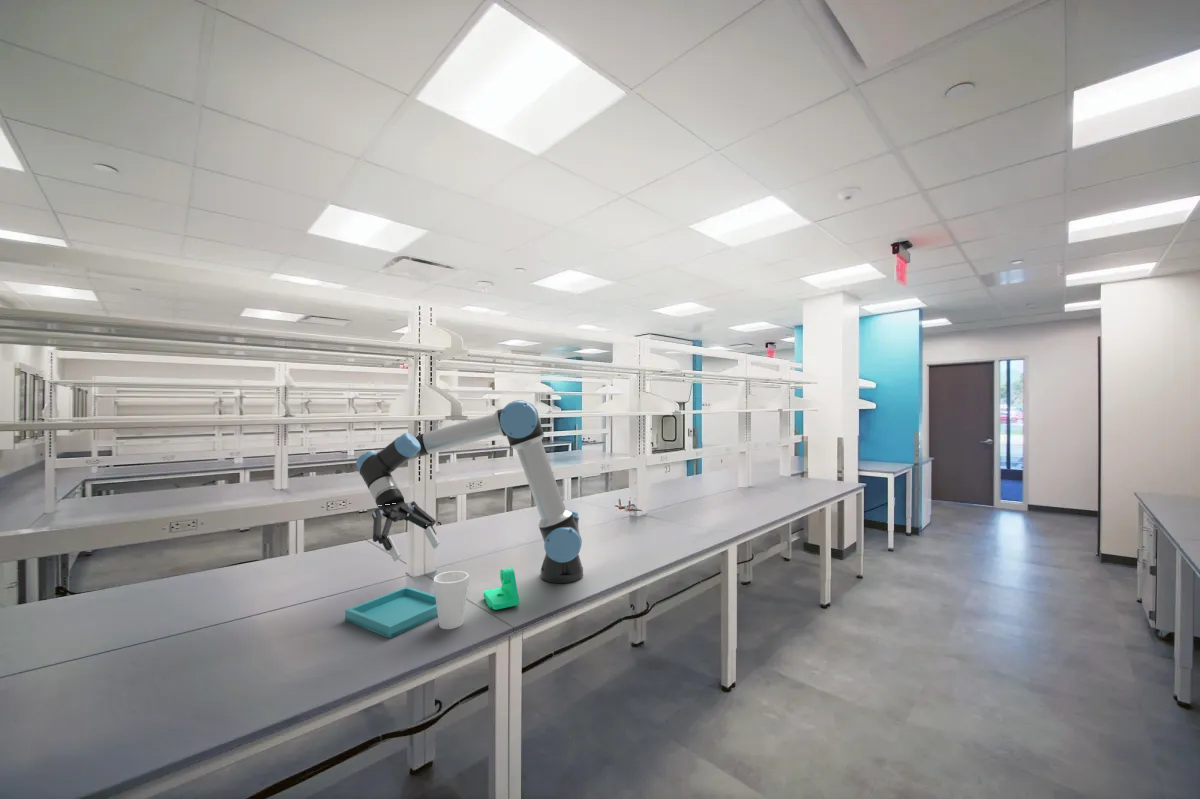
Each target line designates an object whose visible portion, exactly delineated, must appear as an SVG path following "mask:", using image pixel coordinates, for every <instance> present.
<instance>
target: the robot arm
mask: <svg viewBox="0 0 1200 799" xmlns="http://www.w3.org/2000/svg"><path fill="white" fill-rule="evenodd" d="M417 435H418V436H417V437H416V438H415V437H414V436H415V435H413V434H411V433H409V432H405V433H403V434H401V435H400V436H398V437H396V438H395V439H394V440H393V441H392V442H391V443H389V444H388V445H387V446H385V447H384V448H382V449H381V450H380V451H376V450H369V451H367V452H365V453H362V454H361V455H359V457H357V460H356V468H357V469H358V472H359V475H360V476H361V478H362V480H363V481H364V483H365V485H366V487H367V489H368V490H369V493H370V494H371V497H372V498H373V500H374V501H375V505H376V506H377V508H375V509H374V511H373V512H372V513H371V516H372V519H373V527H372V528H373V530H372V541H373V543H376V542H378V544H380V545H382V546H383V548H384V549H385V551H387V552H389V554H390V556H391V558H392V561H393V562H397V561H398V560H399V558H400V557H401V553H400V551H399V549H398V547H397V545H396V544H395V542H394V540H393V537H392V536H391V535H390V536H388V535H389V533H390V530H391V527H392V524H393V523H397V522H399V521H406V522H410V523H412V524H414V525H415V526H418V527H419V528H422V529H423V530H424V531H423V532H424V534H425V536H426V538H427V539H428V541H429V543H430V545H431V547H432V548H433V550H436V549H437V548H438V547H439V545H440V544H441V542H440V540H439V538H438V536H437V532H436V530H435V528H434V527H433V526H434V525H435V524H436V523H437V521H436V519H435V518H434V517H432V516H431V515H430V514H428V513H427V512H426V511H424V510H423V509H422V508H421V507H420V506H419V505H418V503H416V501H411V503H409V504H407V503H406V502H405V497H404V495H403V493H402V491H401V490H400V488H399V486H398V484H397V483H396V480H395V479H394V478H393V475H392V473H393V472H394V471H396V470H397V469H398V468H399V467H401V466H402V465H404V464H405V463H406V462H409V461H411V460H413V459H417V457H418V458H421V457H424V456H428V455H430V454H435V453H439V452H441V451H446V450H449V449H452V448H457V447H460V446H465V445H467V444H471V443H475V442H478V441H482V440H485V439H489V438H492V437H498V436H502V437H506V439H507V442H508V444H509V446H510V448H512V449H514V450H516V452H517V455H518V457H519V460H520V464H521V467H522V468H523V469H522V470H523V472H524V475H525V478H526V480H527V483H528V487H529V488H530V492H531V494H532V497H533V500H534V502H535V507H536V508H537V511H538V514H539V517H540V520H539V523H538V529H539V531H540V535H541V537H542V540H543V543H544V544H543V546H544V551H545V556H544V558H543V562H542V564H541V569H540V578H541V579H542V580H543V581H546V582H548V583H553V584H566V583H567V584H568V583H573V582H577V581H579V580H581V579H582V578H583V577H584V567H583V565H582V562H581V561H582V560H581V558H580V554H579V553H580V551H581V548H582V542H583V540H582V537H581V534H580V528H579V520H580V517H579V513H578V511H576V510H569V509H567V508H566V505H565V503H564V501H563V498H562V494H561V492H560V488H559V487H558V483H557V481H556V477H555V475H554V472H553V470H552V467H551V465H550V460H549V458H548V455H547V452H546V449H545V447H544V444H543V438H544V437H545V433H544V430H543V427H542V425H541V422H540V418H539V413H538V409H537V408H536V407H535V405H533V404H532V403H531V402H528V401H525V400H521V399H517V400H513V401H512V402H509V403H508V404H506V405H505V406H504V407H502V408H501V409H497V410H496V411H495V412H494V413H493V414H489V415H486V416H482V417H479V418H474V419H471V420H467V421H465V422H463V421H462V422H460V423H456V424H453V425H450V426H445V427H442V428H441V427H440V428H438V429H435V430H431V431H427V432H424V433H420V435H419V434H417ZM392 503H396V504H392ZM385 504H390V505H385ZM378 505H382V506H378ZM382 516H383V517H384V518H386V519H385V522H384V526H383V529H382Z"/></svg>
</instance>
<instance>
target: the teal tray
mask: <svg viewBox="0 0 1200 799" xmlns="http://www.w3.org/2000/svg"><path fill="white" fill-rule="evenodd" d="M344 616H345V618H344V619H345V620H344V621H345V622H348V623H350V624H352V625H356V626H358V627H360V628H363V629H366V630H368V631H370V632H373V633H375V634H377V635H379V636H382V637H384V638H388V639H392V638H395V637H397V636H399V635H401V634H403V633H405V632H407V631H410V630H411V629H413V628H415V627H418V626H420V625H422V624H424V623H426V622H428V621H430V620H433V619H435V618H436V617H437V618H438V614H437V606H436V598H435V594H433V593H430V592H427V591H423V590H420V589H417V588H414V587H410V586H408V585H406V586H404V587H402V588H398V589H397V590H393V591H391V592H389V593H386V594H383V595H381V596H378V597H375V598H372V599H370V600H367V601H365V602H362V603H360V604H359V603H358V604H357V605H354V606H352V607H349V608H346V609H345V615H344Z"/></svg>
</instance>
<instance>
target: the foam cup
mask: <svg viewBox="0 0 1200 799" xmlns="http://www.w3.org/2000/svg"><path fill="white" fill-rule="evenodd" d="M432 582H433V585H432V586H433V590H434V595H435V598H436V606H437V614H438V616H437V622H438V626H439V627H440V629H443V630H452V629H453V630H454V629H456V628H457V629H458V628H459V627H461V626H462V625H463V623H464V616H465V610H466V601H467V594H468V586H469V584H470V574H469V573H468V572H467V571H462V570H450V571H445V572H441V573H437V575H435V576H434V578H433V581H432Z"/></svg>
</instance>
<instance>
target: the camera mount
mask: <svg viewBox="0 0 1200 799" xmlns="http://www.w3.org/2000/svg"><path fill="white" fill-rule="evenodd" d="M499 571H500V573H499V577H500V582H501V584H502V585H501V587H496V588H495V587H494V588H491V589H486V590H483V598H484V599H485V603H486V605H487V606H488V608H489V609H493V610H501V609H506V608H511V607H515V606H519V605H520V598H519V597H520V596H519V592H518V591H519V590H518V585H517V581H516V574H515V570H514V568H513V567H508V568H502V569H500V570H499Z"/></svg>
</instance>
